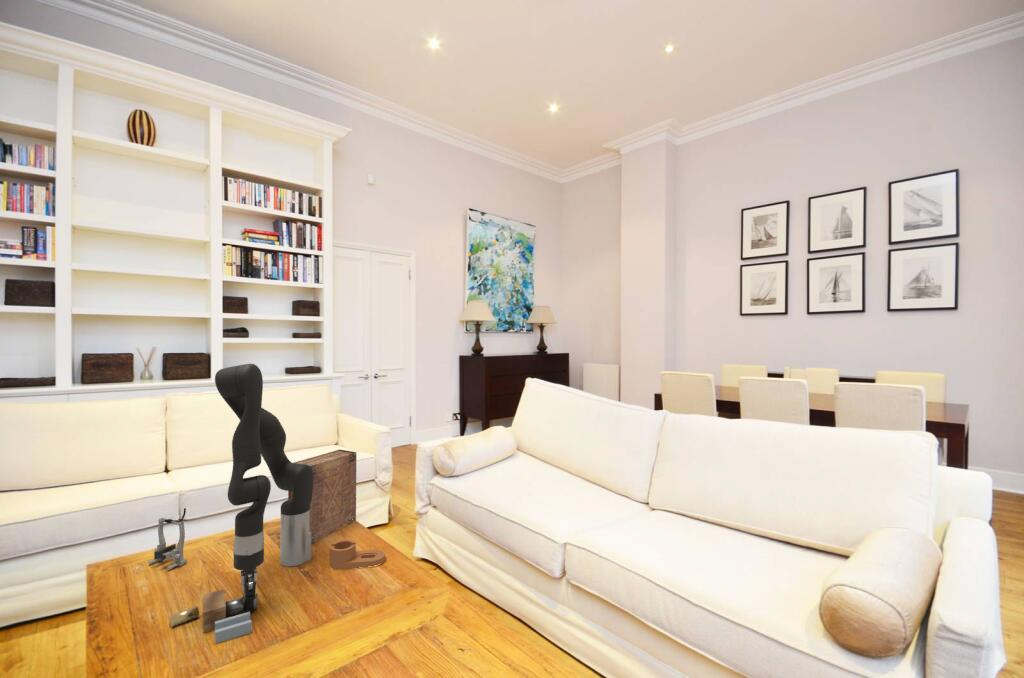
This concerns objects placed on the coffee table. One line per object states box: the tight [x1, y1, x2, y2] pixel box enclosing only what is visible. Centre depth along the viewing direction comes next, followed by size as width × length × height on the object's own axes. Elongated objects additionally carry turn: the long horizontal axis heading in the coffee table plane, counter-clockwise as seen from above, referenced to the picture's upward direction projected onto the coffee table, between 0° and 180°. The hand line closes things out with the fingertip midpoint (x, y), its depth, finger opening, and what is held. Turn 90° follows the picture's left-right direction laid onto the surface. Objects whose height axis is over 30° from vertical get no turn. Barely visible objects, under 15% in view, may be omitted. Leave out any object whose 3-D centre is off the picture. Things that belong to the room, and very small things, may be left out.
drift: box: [169, 605, 200, 628], centre depth 125 cm, size 6×3×3 cm
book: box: [287, 449, 357, 545], centre depth 181 cm, size 25×9×30 cm, turn 155°
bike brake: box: [147, 507, 188, 571], centre depth 155 cm, size 14×7×20 cm, turn 69°
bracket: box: [329, 539, 386, 571], centre depth 158 cm, size 18×8×7 cm, turn 100°
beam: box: [202, 589, 227, 633], centre depth 126 cm, size 5×10×5 cm, turn 34°
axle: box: [225, 593, 258, 618], centre depth 129 cm, size 10×4×4 cm, turn 122°
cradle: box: [214, 612, 253, 644], centre depth 121 cm, size 8×5×3 cm
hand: (248, 607), depth 131 cm, fingers closed on axle, 4 cm apart
